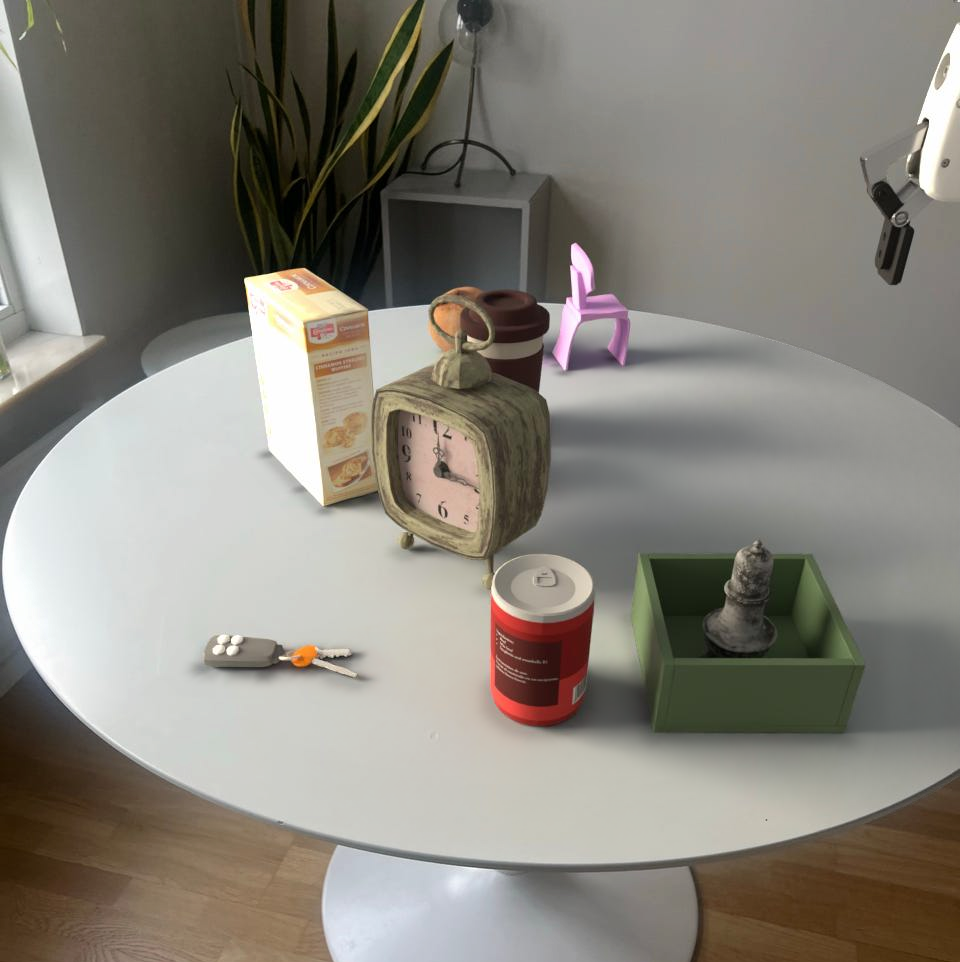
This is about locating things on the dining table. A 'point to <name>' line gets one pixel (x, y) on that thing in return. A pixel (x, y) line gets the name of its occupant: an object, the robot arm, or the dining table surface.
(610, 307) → the toy chair
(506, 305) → the coffee cup
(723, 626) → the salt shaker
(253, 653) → the key chain
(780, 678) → the green planter box
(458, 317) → the onion
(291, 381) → the coffeecake box
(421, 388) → the tabletop clock
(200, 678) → the dining table surface
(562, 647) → the canned food
